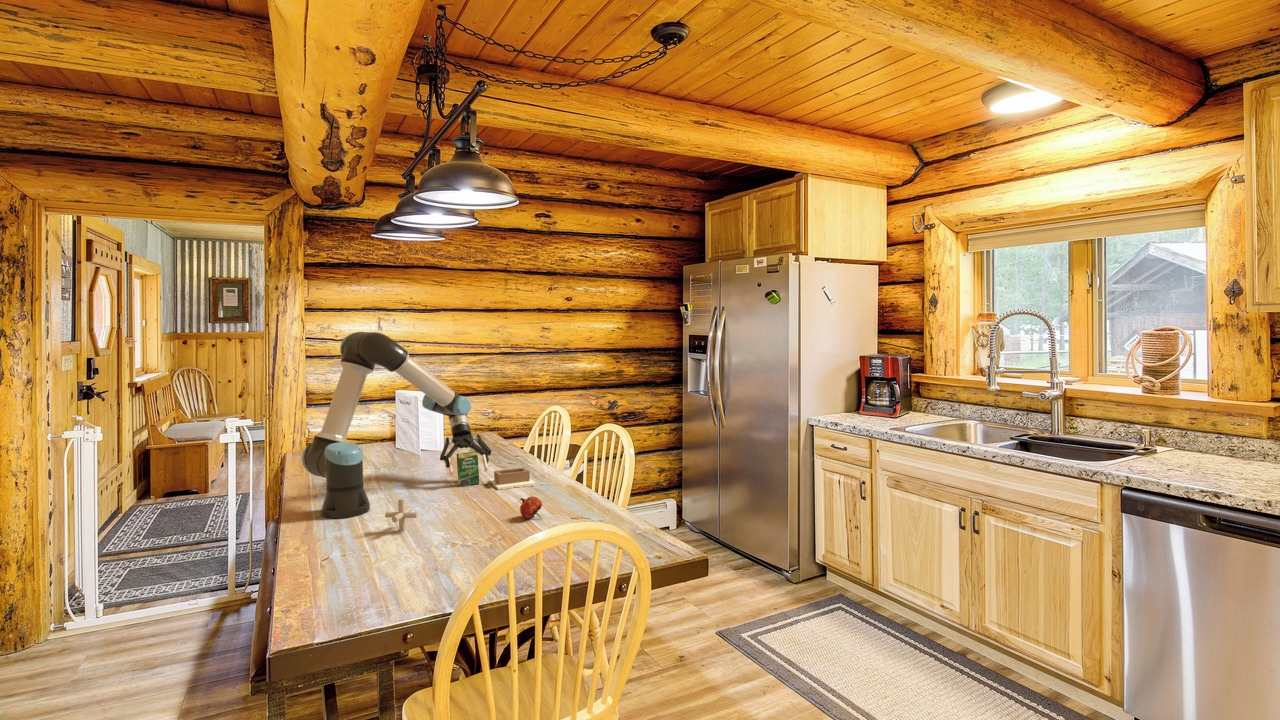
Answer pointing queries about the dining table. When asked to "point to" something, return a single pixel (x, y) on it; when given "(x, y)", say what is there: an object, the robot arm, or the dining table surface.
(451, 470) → the robot arm
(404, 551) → the dining table surface
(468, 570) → the dining table surface
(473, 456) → the coffee box
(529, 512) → the pomegranate
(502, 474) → the socket board
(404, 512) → the pipe connector
